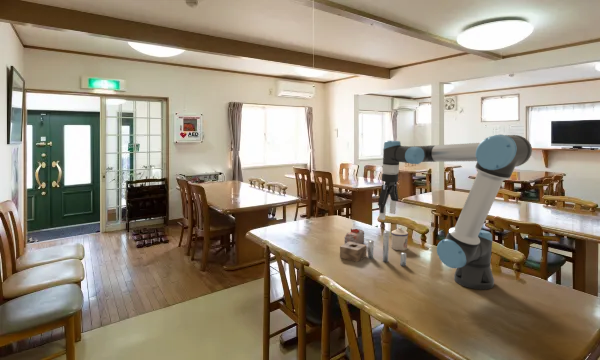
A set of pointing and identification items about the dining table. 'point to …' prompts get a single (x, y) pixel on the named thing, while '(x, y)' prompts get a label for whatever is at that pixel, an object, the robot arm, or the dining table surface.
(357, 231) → the food item
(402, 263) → the pin short
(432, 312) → the dining table surface
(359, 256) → the hole block
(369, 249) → the pin medium
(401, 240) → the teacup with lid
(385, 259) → the pin long
